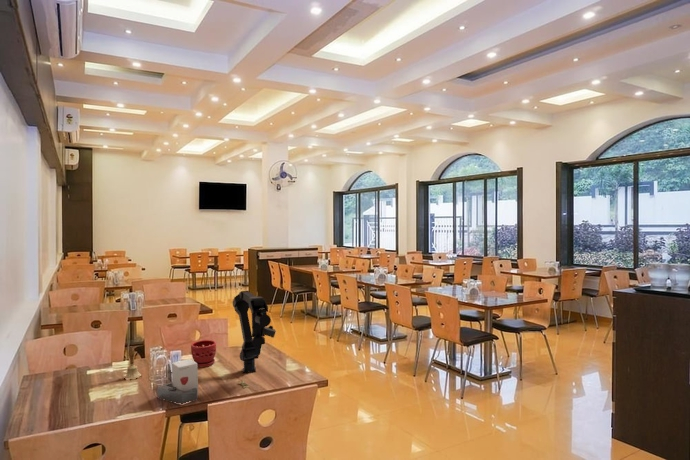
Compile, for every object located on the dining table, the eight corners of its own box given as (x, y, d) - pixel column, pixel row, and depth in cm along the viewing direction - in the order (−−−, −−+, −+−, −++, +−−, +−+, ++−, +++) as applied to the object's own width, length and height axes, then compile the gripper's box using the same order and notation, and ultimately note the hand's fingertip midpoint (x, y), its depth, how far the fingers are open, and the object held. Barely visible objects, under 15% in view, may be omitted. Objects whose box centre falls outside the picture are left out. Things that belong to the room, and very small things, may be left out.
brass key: (236, 383, 227) (236, 381, 227) (242, 382, 229) (242, 380, 229) (243, 388, 221) (243, 386, 221) (250, 386, 223) (249, 385, 223)
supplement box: (178, 401, 207) (177, 367, 207) (172, 395, 214) (171, 362, 214) (198, 395, 213) (197, 362, 212) (192, 390, 220) (190, 358, 219)
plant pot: (186, 366, 256) (185, 344, 256) (206, 359, 267) (205, 338, 266) (202, 370, 249) (201, 347, 248) (221, 363, 259) (221, 341, 259)
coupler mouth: (173, 392, 218) (172, 380, 218) (197, 399, 208) (196, 387, 208) (157, 398, 211) (157, 385, 211) (181, 405, 202) (181, 392, 201)
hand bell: (129, 381, 234) (127, 349, 234) (120, 378, 239) (119, 346, 239) (144, 376, 241) (143, 345, 240) (136, 373, 246) (135, 343, 245)
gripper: (275, 326, 225) (276, 358, 225) (273, 318, 243) (274, 348, 244) (251, 327, 223) (252, 360, 223) (251, 319, 241) (252, 350, 241)
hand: (258, 354), depth 233 cm, fingers closed
